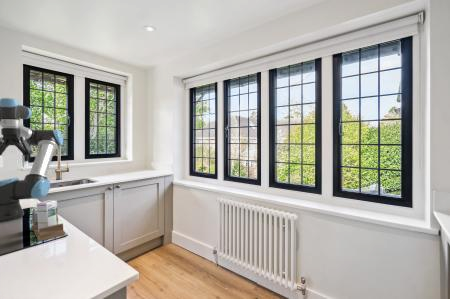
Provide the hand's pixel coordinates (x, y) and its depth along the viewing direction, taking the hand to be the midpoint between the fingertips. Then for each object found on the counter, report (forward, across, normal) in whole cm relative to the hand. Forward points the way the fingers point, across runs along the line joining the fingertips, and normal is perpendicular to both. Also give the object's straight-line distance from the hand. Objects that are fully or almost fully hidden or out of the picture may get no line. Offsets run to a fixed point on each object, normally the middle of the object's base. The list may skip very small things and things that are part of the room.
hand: (13, 167), depth 126 cm
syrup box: (+30, +27, -12) cm, 43 cm away
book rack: (+32, +25, -10) cm, 42 cm away
